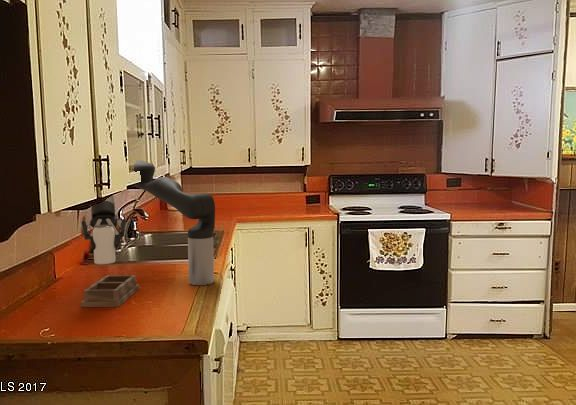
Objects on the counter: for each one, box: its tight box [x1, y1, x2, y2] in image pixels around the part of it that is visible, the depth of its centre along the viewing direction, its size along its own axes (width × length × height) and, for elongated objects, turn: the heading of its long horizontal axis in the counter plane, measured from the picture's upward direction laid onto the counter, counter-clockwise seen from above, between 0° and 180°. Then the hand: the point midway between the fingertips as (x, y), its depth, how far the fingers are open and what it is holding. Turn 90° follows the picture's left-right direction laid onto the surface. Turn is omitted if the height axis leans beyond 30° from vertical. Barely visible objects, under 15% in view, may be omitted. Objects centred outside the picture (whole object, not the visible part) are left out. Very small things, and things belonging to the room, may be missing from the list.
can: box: [92, 225, 116, 266], centre depth 155 cm, size 6×6×12 cm
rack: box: [80, 274, 140, 308], centre depth 162 cm, size 21×12×5 cm, turn 1°
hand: (105, 247), depth 154 cm, fingers closed on can, 6 cm apart
